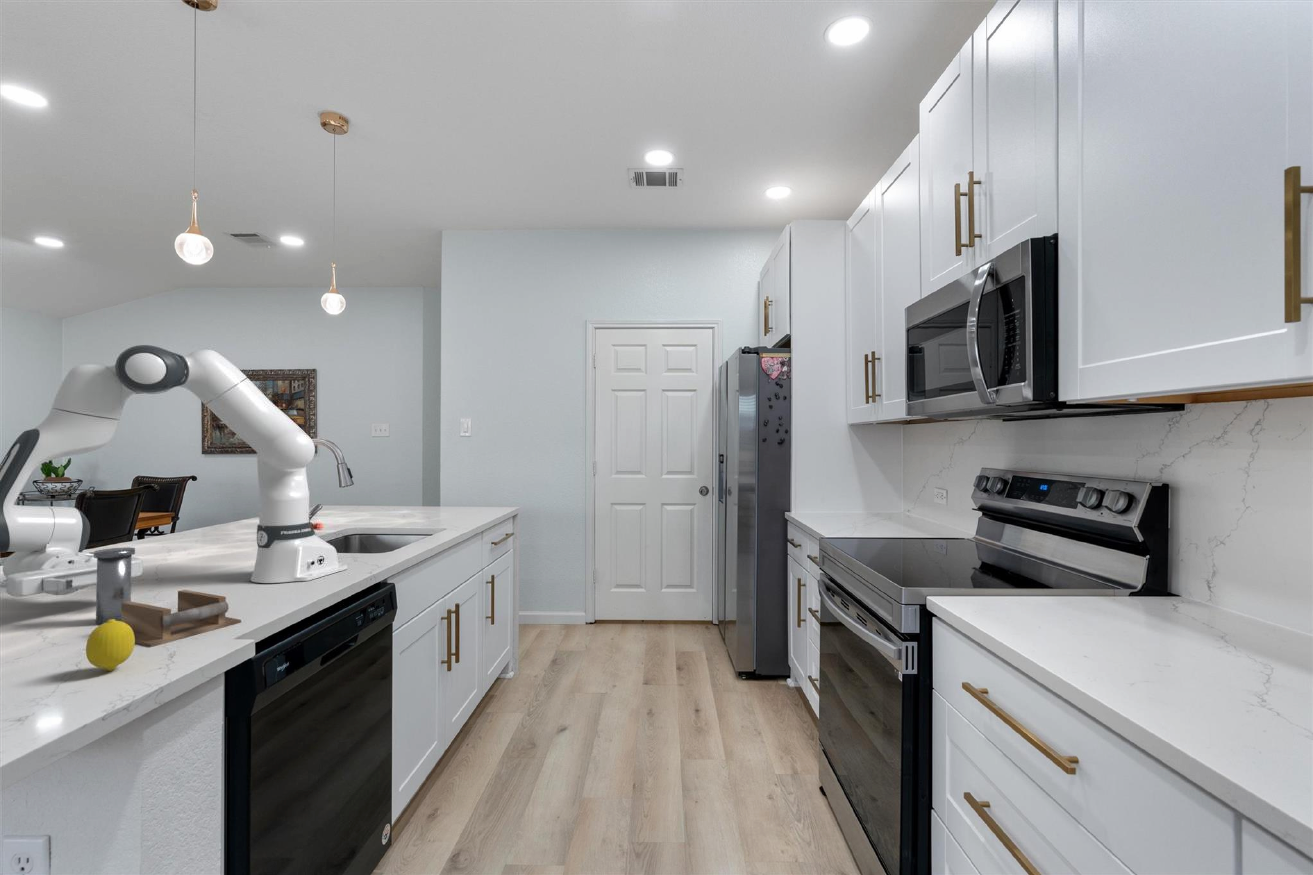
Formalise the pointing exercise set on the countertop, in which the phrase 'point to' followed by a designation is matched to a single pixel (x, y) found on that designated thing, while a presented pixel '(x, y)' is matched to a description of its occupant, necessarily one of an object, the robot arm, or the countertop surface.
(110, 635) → the lemon
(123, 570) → the hinge pin
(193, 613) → the brown wooden holder
